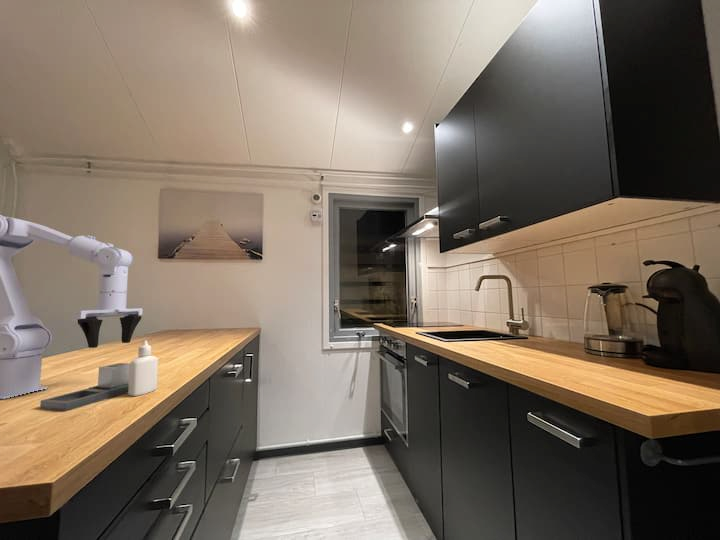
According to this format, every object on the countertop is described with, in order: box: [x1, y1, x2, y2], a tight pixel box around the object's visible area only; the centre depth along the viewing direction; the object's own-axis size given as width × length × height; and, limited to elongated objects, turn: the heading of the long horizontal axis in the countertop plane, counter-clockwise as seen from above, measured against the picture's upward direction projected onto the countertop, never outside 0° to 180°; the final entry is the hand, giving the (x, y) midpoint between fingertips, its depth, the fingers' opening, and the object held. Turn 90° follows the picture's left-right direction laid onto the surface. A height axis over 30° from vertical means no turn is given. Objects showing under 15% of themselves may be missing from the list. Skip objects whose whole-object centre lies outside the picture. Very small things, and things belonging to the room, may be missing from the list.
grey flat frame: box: [39, 384, 129, 412], centre depth 65 cm, size 8×15×2 cm, turn 163°
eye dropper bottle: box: [127, 340, 159, 397], centre depth 68 cm, size 4×6×12 cm
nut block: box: [97, 362, 131, 390], centre depth 69 cm, size 4×4×6 cm
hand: (110, 345), depth 75 cm, fingers open, 7 cm apart
